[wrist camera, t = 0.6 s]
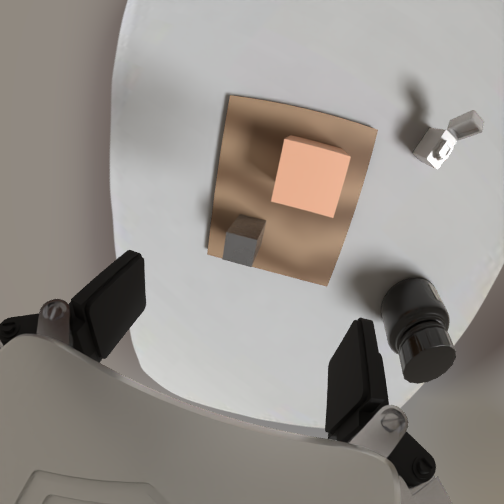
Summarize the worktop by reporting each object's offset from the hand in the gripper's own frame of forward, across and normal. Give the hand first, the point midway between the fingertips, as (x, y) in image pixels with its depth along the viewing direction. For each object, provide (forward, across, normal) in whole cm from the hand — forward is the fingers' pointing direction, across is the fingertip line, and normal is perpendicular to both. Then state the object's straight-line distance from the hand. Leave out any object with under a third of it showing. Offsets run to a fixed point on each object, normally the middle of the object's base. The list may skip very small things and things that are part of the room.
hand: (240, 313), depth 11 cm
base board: (+22, 0, +1) cm, 22 cm away
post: (+21, +3, +6) cm, 22 cm away
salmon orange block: (+21, -2, -3) cm, 21 cm away
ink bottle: (+22, -21, +10) cm, 32 cm away
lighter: (+22, -15, -12) cm, 29 cm away
